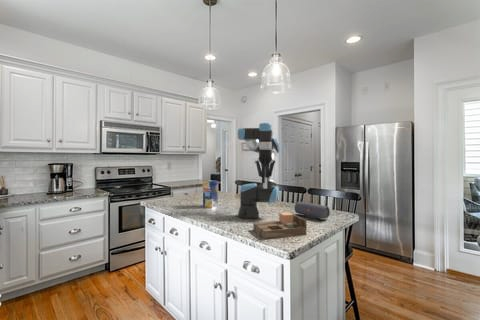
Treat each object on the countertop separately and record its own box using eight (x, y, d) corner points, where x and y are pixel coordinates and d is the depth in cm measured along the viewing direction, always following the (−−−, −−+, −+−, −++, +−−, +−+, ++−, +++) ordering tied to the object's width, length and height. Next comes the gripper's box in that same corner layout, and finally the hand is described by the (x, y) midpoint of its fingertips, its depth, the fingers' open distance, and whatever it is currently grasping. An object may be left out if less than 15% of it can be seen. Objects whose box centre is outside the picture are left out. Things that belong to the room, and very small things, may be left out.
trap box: (253, 229, 139) (253, 216, 139) (291, 225, 147) (291, 213, 147) (264, 239, 123) (264, 223, 123) (306, 234, 131) (306, 220, 131)
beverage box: (208, 205, 207) (208, 179, 207) (217, 206, 200) (217, 180, 200) (202, 206, 202) (202, 180, 201) (211, 208, 195) (211, 181, 194)
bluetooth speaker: (293, 215, 172) (294, 201, 172) (300, 213, 179) (300, 200, 179) (323, 221, 156) (323, 206, 156) (330, 219, 163) (330, 204, 163)
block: (279, 221, 143) (279, 212, 143) (287, 220, 145) (288, 212, 145) (283, 223, 137) (284, 215, 137) (293, 223, 139) (293, 214, 139)
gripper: (258, 149, 136) (257, 190, 137) (278, 149, 140) (277, 188, 142) (252, 149, 143) (252, 187, 144) (272, 149, 147) (271, 186, 149)
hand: (265, 188), depth 143 cm, fingers closed
